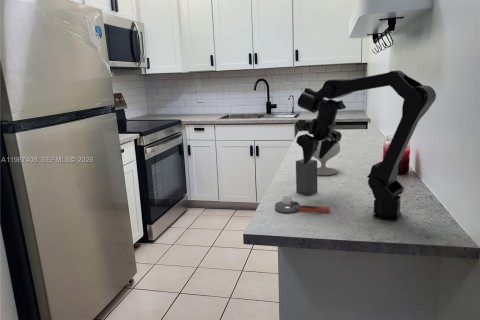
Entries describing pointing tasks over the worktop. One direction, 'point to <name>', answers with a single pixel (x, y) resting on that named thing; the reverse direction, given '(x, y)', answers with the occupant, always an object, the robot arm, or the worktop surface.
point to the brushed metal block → (306, 177)
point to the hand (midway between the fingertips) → (312, 161)
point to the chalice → (323, 169)
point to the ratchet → (297, 207)
